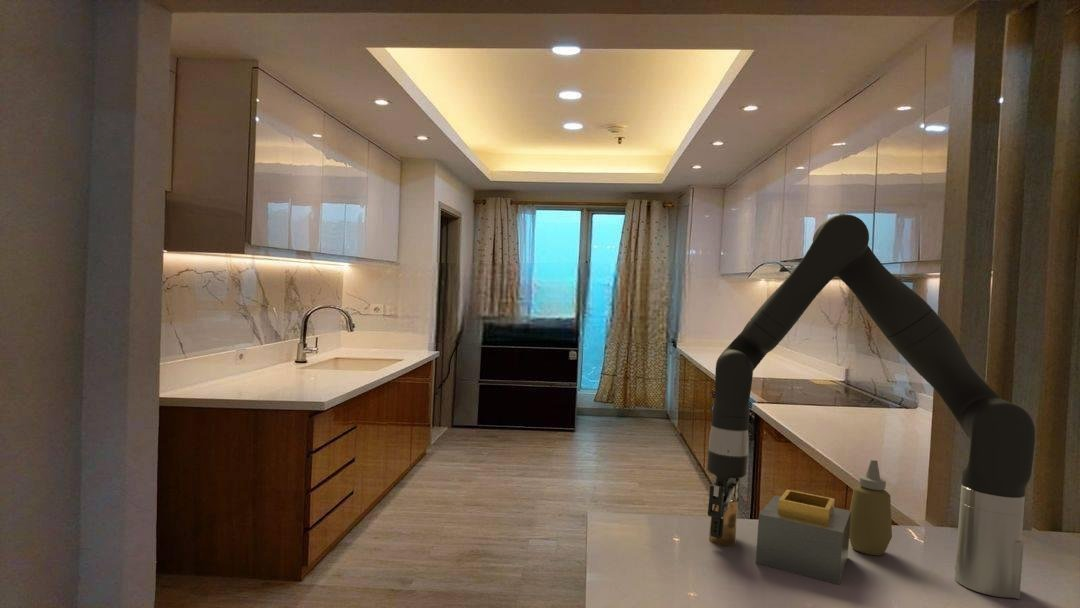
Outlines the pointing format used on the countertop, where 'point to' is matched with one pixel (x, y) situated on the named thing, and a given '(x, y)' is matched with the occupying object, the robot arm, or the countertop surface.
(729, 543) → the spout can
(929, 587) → the countertop surface
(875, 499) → the squeeze bottle
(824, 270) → the robot arm
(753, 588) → the countertop surface
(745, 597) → the countertop surface
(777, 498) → the grey boxy block
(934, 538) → the countertop surface
